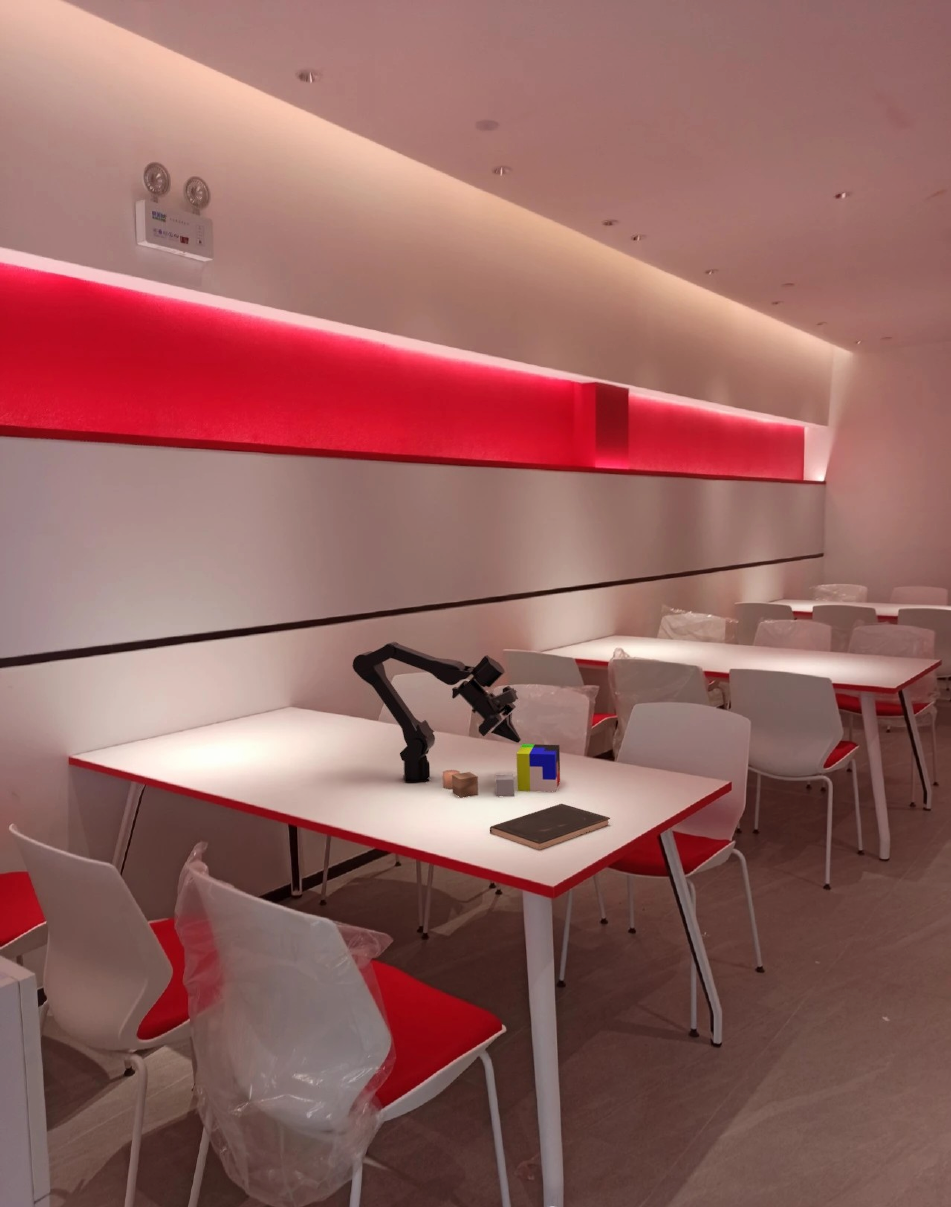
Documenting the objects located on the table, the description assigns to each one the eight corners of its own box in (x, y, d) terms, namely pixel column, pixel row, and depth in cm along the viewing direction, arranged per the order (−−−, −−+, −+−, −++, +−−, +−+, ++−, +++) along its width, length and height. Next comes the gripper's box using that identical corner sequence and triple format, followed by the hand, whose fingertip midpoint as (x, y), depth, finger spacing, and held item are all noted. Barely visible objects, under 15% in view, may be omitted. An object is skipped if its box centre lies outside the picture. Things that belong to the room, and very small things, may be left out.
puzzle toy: (555, 792, 244) (554, 754, 243) (517, 791, 246) (516, 753, 245) (560, 781, 254) (559, 745, 253) (523, 780, 256) (522, 744, 255)
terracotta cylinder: (444, 789, 249) (444, 775, 249) (442, 785, 253) (441, 770, 253) (461, 788, 250) (460, 773, 249) (458, 784, 254) (458, 769, 254)
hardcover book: (610, 827, 217) (610, 817, 217) (539, 853, 202) (539, 842, 202) (559, 812, 230) (559, 802, 229) (489, 835, 214) (489, 825, 214)
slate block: (496, 797, 242) (496, 779, 241) (496, 791, 246) (495, 774, 246) (514, 796, 242) (513, 779, 241) (513, 791, 246) (513, 774, 246)
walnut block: (460, 798, 241) (459, 779, 241) (452, 793, 246) (452, 774, 245) (478, 795, 243) (477, 776, 243) (470, 790, 248) (469, 771, 248)
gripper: (489, 684, 241) (532, 729, 239) (507, 672, 259) (547, 713, 257) (460, 713, 244) (502, 758, 242) (480, 699, 262) (519, 740, 260)
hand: (519, 741), depth 250 cm, fingers closed
